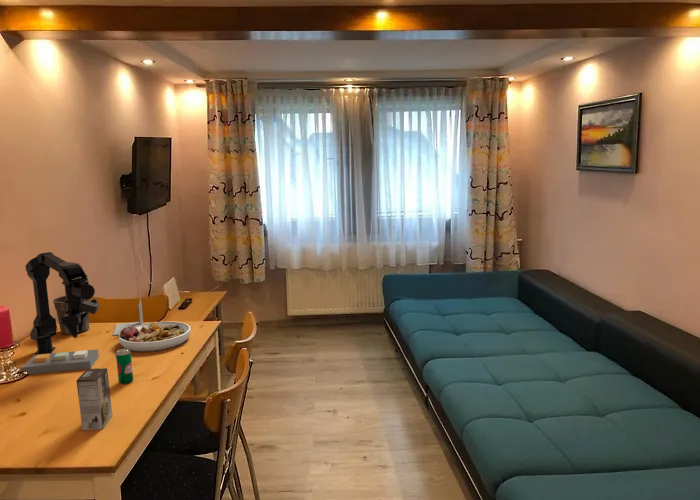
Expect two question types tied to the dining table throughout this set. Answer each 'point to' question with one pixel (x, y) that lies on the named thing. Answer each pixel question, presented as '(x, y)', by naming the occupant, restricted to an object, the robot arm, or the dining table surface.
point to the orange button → (42, 358)
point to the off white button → (80, 354)
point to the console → (61, 363)
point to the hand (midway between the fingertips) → (78, 334)
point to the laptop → (125, 325)
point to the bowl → (154, 336)
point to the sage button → (61, 356)
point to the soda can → (124, 366)
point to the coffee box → (94, 399)
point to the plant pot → (61, 311)
